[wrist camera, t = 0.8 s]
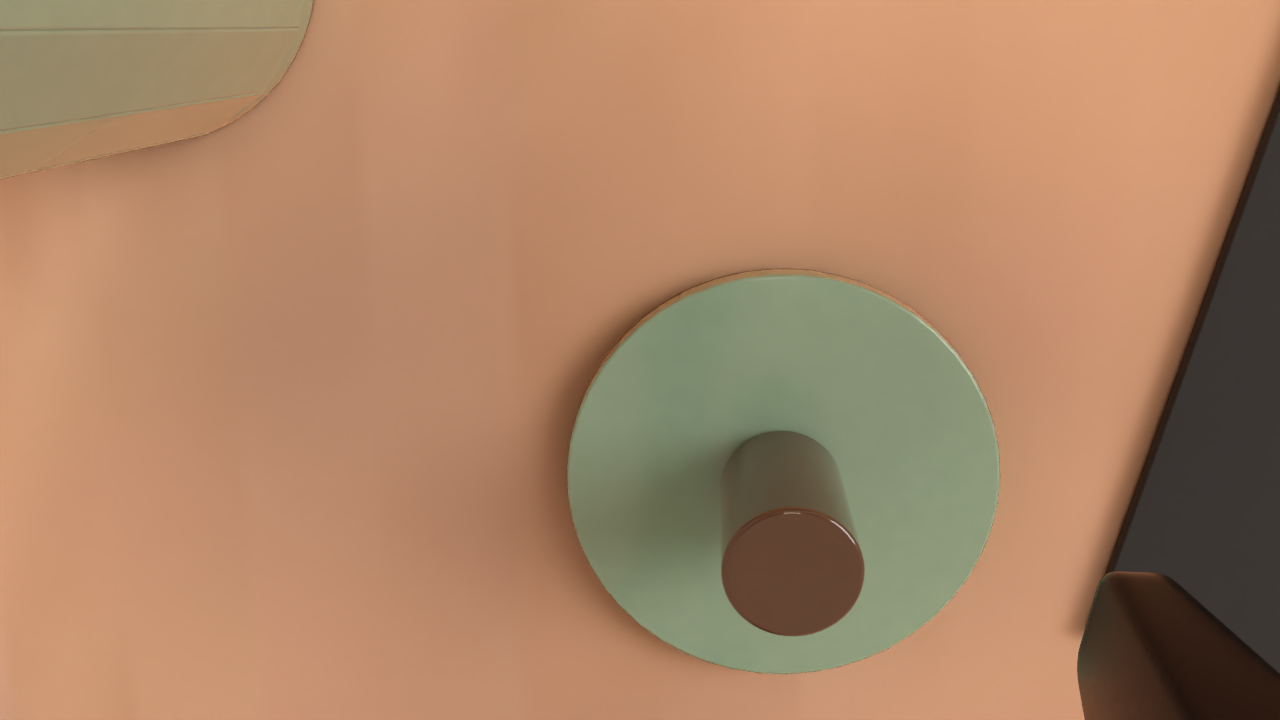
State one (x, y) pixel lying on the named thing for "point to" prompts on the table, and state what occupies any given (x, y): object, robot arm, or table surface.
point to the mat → (1224, 434)
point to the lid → (783, 471)
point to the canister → (133, 72)
